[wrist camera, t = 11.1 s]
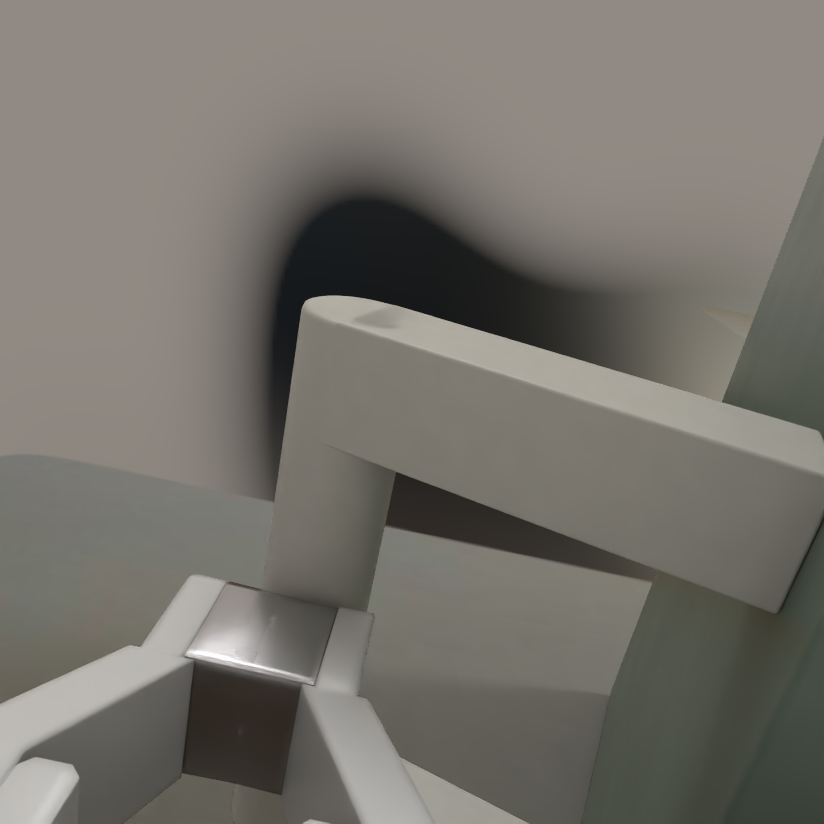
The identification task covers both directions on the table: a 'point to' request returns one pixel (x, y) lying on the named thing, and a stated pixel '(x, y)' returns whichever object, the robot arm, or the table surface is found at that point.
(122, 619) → the table surface
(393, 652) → the table surface
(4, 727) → the robot arm
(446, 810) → the cabinet door
